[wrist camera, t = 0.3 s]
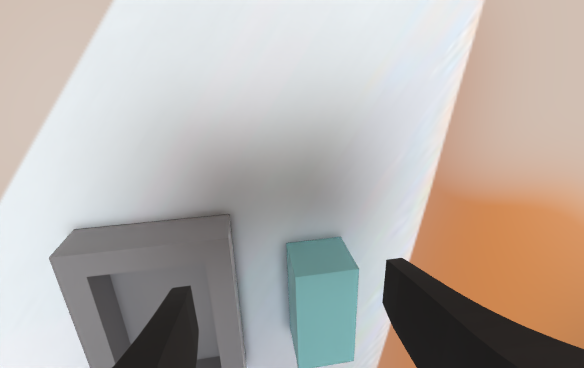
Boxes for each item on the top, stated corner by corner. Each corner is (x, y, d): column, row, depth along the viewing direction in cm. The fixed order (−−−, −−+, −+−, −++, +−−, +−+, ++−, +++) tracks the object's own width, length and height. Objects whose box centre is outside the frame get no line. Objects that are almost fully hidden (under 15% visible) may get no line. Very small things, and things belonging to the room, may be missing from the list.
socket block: (245, 360, 27) (247, 395, 24) (123, 380, 25) (109, 419, 23) (229, 214, 21) (228, 238, 19) (73, 229, 20) (48, 257, 17)
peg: (337, 318, 27) (353, 360, 23) (289, 325, 26) (298, 370, 23) (339, 235, 24) (359, 269, 20) (285, 241, 23) (295, 277, 20)
